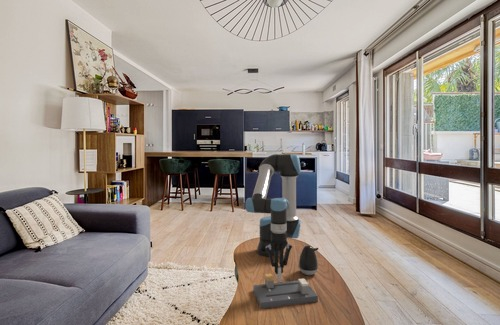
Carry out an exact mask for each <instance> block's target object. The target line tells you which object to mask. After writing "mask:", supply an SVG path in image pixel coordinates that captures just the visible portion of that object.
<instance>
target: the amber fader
mask: <svg viewBox="0 0 500 325" xmlns="http://www.w3.org/2000/svg"><path fill="white" fill-rule="evenodd" d="M274 283H275V278H274V276H273V274H272V273H264V284H266V286H267V288H268V289H270V288H274Z"/></svg>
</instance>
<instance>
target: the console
mask: <svg viewBox="0 0 500 325" xmlns="http://www.w3.org/2000/svg"><path fill="white" fill-rule="evenodd" d="M252 287H253V288H252V289H253V294H254V295H255V298H256V300H257V303H258V305H259V308H260V309H267V308H269V309H270V308H276V307H283V306H285V307H286V306H292V305H299V304H307V303H308V304H309V303H310V304H311V303H315V302H317V303H318V302H319V296H318V295H317V293H316V292H315V290H313V288H312V287H311V285H309V294H302V293H301V292H300V291H299V289H298V280H291V281H279V282H274V288H270V289H268V288H267V286H266V284H265V283H264V284H263V283H261V284H254V285H253V286H252Z"/></svg>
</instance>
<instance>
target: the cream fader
mask: <svg viewBox="0 0 500 325" xmlns="http://www.w3.org/2000/svg"><path fill="white" fill-rule="evenodd" d="M297 281H298V289H299V291H300V292H301V293H302V294H309V286H310V285H309V282H307V280H306V279H305V278H298V279H297Z"/></svg>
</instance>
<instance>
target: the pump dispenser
mask: <svg viewBox="0 0 500 325" xmlns="http://www.w3.org/2000/svg"><path fill="white" fill-rule="evenodd" d="M318 250H319V247H315V248H314V247H313V246H311V245H309V244H308V245H305V246H304V247H303V248H302V250H301V252H300V256H299V258H298V259H299V261H298V268H299V270H300V272H301V273H302V274H304V275H306V276H313V275H315V274H316V273H317V271H318V268H319V264H318V263H319V261H318V258H317V254H316V251H318Z"/></svg>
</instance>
